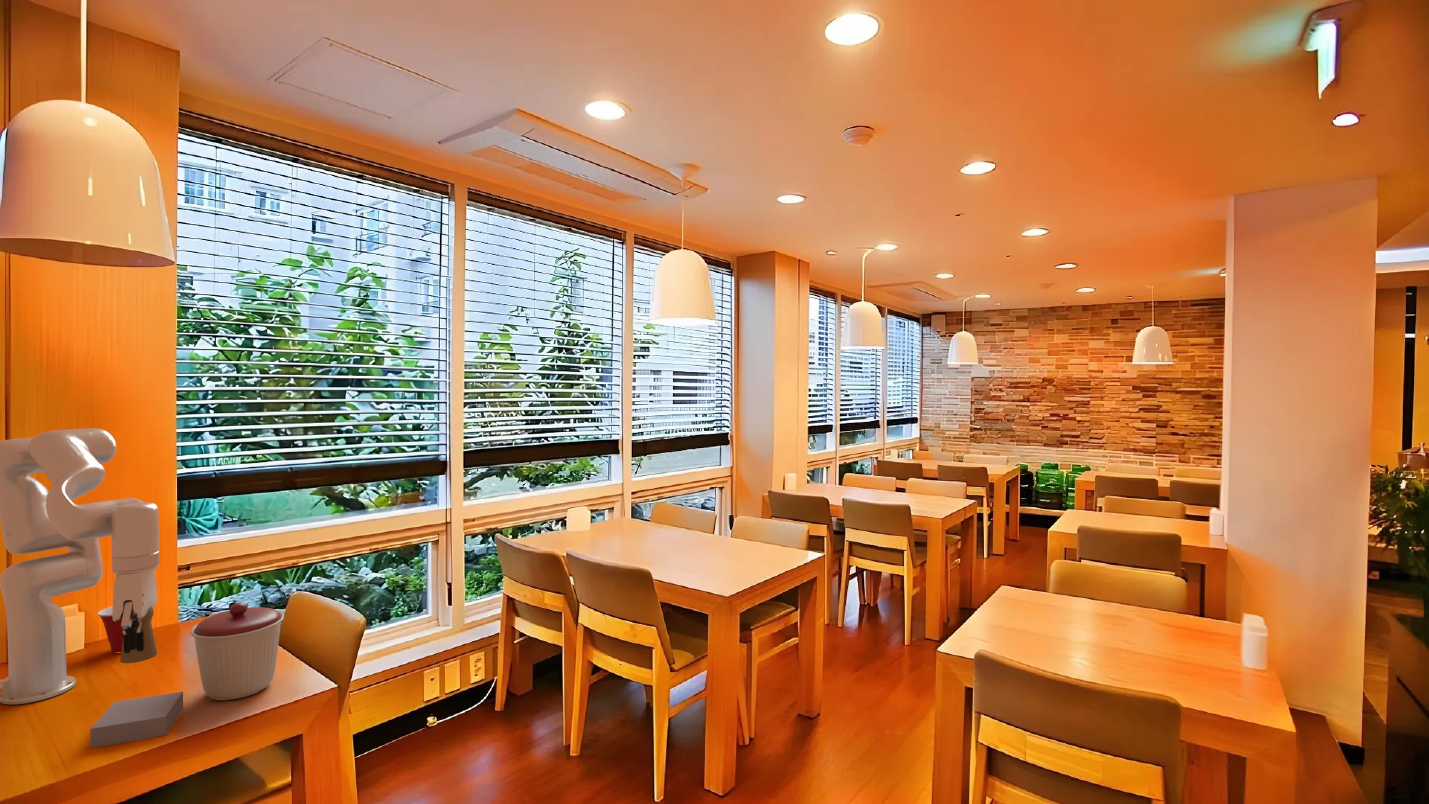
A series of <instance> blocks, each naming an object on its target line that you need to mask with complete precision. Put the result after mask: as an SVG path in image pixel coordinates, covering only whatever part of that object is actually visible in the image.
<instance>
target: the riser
mask: <svg viewBox="0 0 1429 804" xmlns="http://www.w3.org/2000/svg"><path fill="white" fill-rule="evenodd" d="M183 710H184V691H177V692H172V693H171V692H170V693H165V694H158V695H153V696H151V695H150V696H146V697H138V698H131V699H126V700H119V701H118V700H117V701H114V702H113V703H112V704H111V705H110V706H109V707H108V709H107V710H106V711H105V712H104V713H103V714H102V715H101V716H100V717H99V718H98V719H97V720H96V722H95V723H94V724H93V725H92V726H91V728H90V749H95V748H100V747H105V746H106V747H107V746H112V745H118V744H123V743H129V742H136V741H141V740H146V739H147V740H148V739H153V738H158V737H164V736H166V735H167V734H168V733H169V732H170V730H171V728H172V727H173V725H174V724H175V723H176V721H177V719H178V718H179V716H180V715H181V713H182V712H183ZM173 723H174V724H173ZM169 729H170V730H169Z"/></svg>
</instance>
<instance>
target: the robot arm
mask: <svg viewBox="0 0 1429 804" xmlns="http://www.w3.org/2000/svg"><path fill="white" fill-rule="evenodd" d="M116 443H117V442H116V440H115V438H114V437H113V435H111V434H110V433H109V432H108V431H106V429H102V428H99V427H97V428H96V427H95V428H93V427H92V428H74V429H73V428H72V429H59V430H58V429H56V430H55V429H54V430H49V431H45V432H41V433H39V434H37V435H36V436H34V437H21V438H11V439H4V440H0V530H1V535H2V539H3V540H2V541H3V544H4V547H5V550H7V552H9V554H11V555H12V554H13V555H28V554H34V553H35V554H36V553H41V552H47V551H54V550H58V549H67V551H68V552H65V553H64V552H63V553H60V554H59V553H58V554H54V555H53V554H52V555H47V556H42V557H37V558H32V559H28V560H27V559H26V560H23V561H19V562H17V563H14V564H11V565H10V566H8V567H7V568H5V569H4V570H3V572H2V573H1V574H0V591H1V595H2V598H3V602H4V607H5V614H6V629H7V661H8V676H7V677H5V678H3V679H0V691H1V693H0V703H1V704H4V705H23V704H30V703H34V702H40V701H43V700H48V699H51V698H52V697H55V696H58V695H61V694H64V693H65V692H67V691H69V690H71V689H72V688H73V687H75V685H76V684H77V682H76V681H77V679H76V677H74V676H71V675H68V674H67V642H66V638H67V637H66V633H67V632H66V615H65V612H64V609H63V608H62V607H61V606H59V605H58V604H56V603H55V602H53V601H52V600H51V598H53V597H57V596H60V595H64V594H68V593H69V594H70V593H72V592H73V593H74V592H77V591H81V590H85V589H90V588H91V587H94V586H96V585H97V584H98V583H99V582H100V581H101V579H102V578H103V575H104V574H103V570H104V565H103V559H102V552H101V545H100V538H105V537H106V538H107V537H111V561H112V562H111V565H112V566H111V567H112V574H115V577H114V583H113V593H112V594H113V596H112V606H113V621H115V622H118V621H119V620H120V619H122V623H121V627H122V628H123V638H124V653H130V651H131V650H134V649H137V651H138V652H140V651H143V650H144V631H142V618H143V617H144V616H145V615H146V614H147V612H148V610H149V608H150V607H151V606H152V607H153V609H155V607H156V605H157V600H158V587H157V572H156V569H157V568H159V567H160V565H161V564H160V563H161V562H160V560H161V559H160V525H159V523H160V522H159V516H160V515H159V507H158V506H157V504H156V503H153V502H145V501H143V500H140V499H139V498H134V497H128V498H119V499H113V500H104V501H103V500H101V501H97V502H89V503H81V504H76V503H74V502H73V500H76V499H78V498H80V497H82V496H84V495H86V494H88V493H90V492H92V491H93V490H95V489H97V488H98V487H99V486H100V485H101V484H102V482H103V481H104V480H105V477H106V470H105V468H104V466H103V465H104V464H106V463H108V462H111V460H112V459H114V457H115V456H116V453H117V444H116ZM33 474H34V475H35V474H45V476H46V477H47V479H49V480H50V482H51V483H52V485H51V487H50V489H47V487H46V486H45V485H43V484H42V483H41V482H40V481H39V480H37V479H36V478H34V477H33V476H31V475H33ZM123 612H124V613H123ZM133 615H137V617H138V618H132V616H133ZM122 617H123V618H122ZM152 618H153V617H152ZM152 618H151V623H153V619H152ZM133 621H137V625H136V624H135V623H133Z"/></svg>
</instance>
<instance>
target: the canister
mask: <svg viewBox="0 0 1429 804" xmlns="http://www.w3.org/2000/svg"><path fill="white" fill-rule="evenodd" d="M284 619H285V614H284V613H283V612H282V611H280V610H276V609H274V608H271V607H266V606H265V607H261V606H255V607H254V606H253V607H248V605H247V603H245V602H235V603H233V604H232V605H231V606H230V607H229V609H228V610H227V611H222V612H219V613H217V614H213V615H211V616H208V617H207V618H204V619H203V620H201V621H200V622H198V623H197V624H195V625H194V626H193V627H192V628H191V629H190V633H189V634H190V635H191V636H192V637H194V644H195V650H196V655H197V656H196V657H197V663H198V669H199V670H198V671H199V675H200V679H201V680H200V681H201V685H202V689H203V691H204V693H205V695H206V696H207V697H208V698H210V699H212V700H216V701H230V700H238V699H242V698H246V697H249V696H252V695H255V694H256V693H259V692H261V691H263V690H264V689H266V688H267V687H268V686H269V685H270V684H271V683H272V681H273V678H274V676H275V672H276V665H277V659H278V650H279V644H280V643H279V641H280V635H281V633H280V631H281V622H283V621H284Z"/></svg>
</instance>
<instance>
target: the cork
mask: <svg viewBox="0 0 1429 804" xmlns="http://www.w3.org/2000/svg"><path fill="white" fill-rule="evenodd" d="M154 609H155V608H153V607H152V606H151V607H150V608H149V610H148V612H147V614H146V615H145V616H144V617H143V618H142V631H144V650H143V651H140V652H138V651H137V649H134V650H131V651H130V653H124V638H123V644H122V651H121V653H120V659H119V663H122V664H134V663H135V664H136V663H140V662H143V661H147V660H149V659H153V658H154V657H157V655H158V648H157V643H156V639H155V633H154V629H153V623H152V622H151V618H153V617H154V615H155V610H154ZM123 613H124V612H123ZM122 618H123V617H122ZM132 618H138V617H137V615H133V616H132ZM133 623H135V624H136V625H137V621H133Z"/></svg>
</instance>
